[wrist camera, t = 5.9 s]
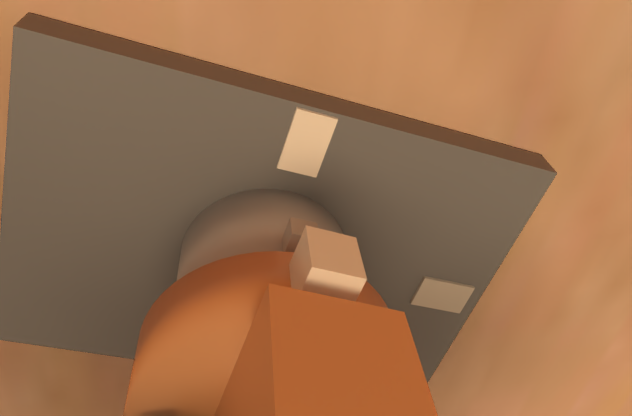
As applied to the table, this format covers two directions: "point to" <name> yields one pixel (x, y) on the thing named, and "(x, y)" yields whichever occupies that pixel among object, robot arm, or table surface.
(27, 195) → the post base
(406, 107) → the table surface
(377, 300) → the bayonet cap
